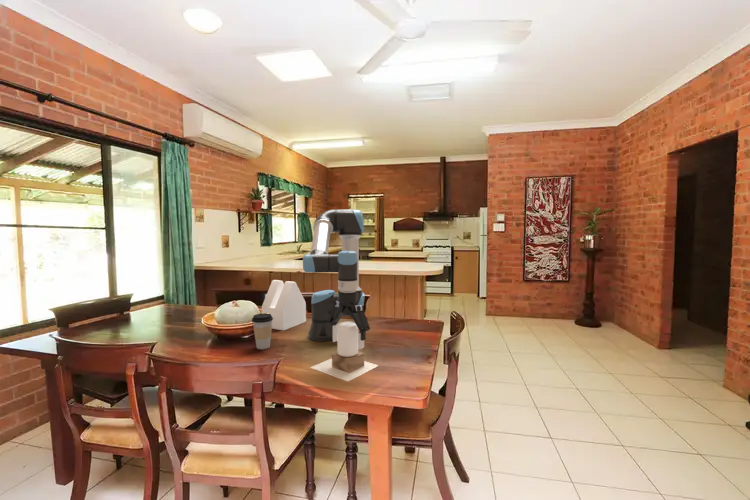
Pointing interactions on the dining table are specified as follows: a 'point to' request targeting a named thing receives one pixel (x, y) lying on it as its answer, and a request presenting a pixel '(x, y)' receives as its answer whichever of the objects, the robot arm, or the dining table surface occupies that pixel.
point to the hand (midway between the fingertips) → (348, 344)
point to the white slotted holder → (284, 305)
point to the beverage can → (347, 339)
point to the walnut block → (348, 362)
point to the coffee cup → (262, 330)
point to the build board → (328, 369)
